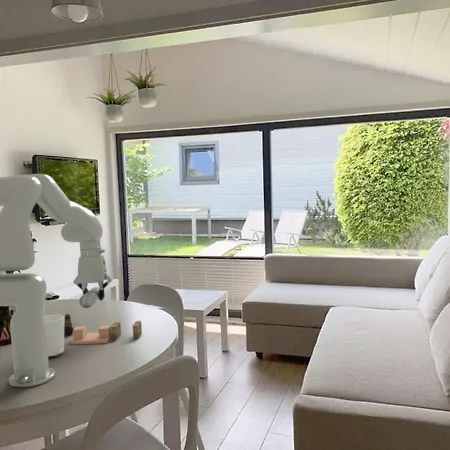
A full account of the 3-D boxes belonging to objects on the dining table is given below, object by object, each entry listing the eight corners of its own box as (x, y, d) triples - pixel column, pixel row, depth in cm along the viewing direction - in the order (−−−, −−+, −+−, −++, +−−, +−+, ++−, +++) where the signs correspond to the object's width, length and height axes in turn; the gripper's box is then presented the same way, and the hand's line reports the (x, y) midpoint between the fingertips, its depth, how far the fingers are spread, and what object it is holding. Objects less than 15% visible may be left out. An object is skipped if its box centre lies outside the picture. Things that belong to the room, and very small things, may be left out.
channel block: (138, 338, 169) (138, 325, 169) (111, 339, 169) (111, 326, 169) (141, 333, 175) (141, 320, 174) (116, 334, 175) (115, 321, 175)
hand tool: (73, 335, 177) (72, 324, 177) (62, 337, 176) (61, 325, 176) (74, 323, 195) (74, 312, 195) (64, 324, 194) (64, 313, 194)
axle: (93, 308, 165) (93, 294, 165) (79, 308, 165) (79, 294, 165) (102, 300, 177) (102, 287, 177) (89, 299, 177) (89, 287, 177)
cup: (37, 352, 159) (34, 316, 158) (66, 348, 162) (64, 312, 161) (36, 362, 150) (33, 324, 149) (67, 357, 153) (64, 320, 152)
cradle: (106, 343, 166) (105, 331, 165) (71, 344, 166) (70, 332, 165) (113, 334, 176) (112, 322, 175) (80, 335, 176) (79, 324, 175)
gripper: (115, 250, 176) (118, 296, 178) (71, 252, 177) (75, 298, 178) (110, 253, 169) (113, 301, 170) (64, 255, 169) (68, 303, 171)
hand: (94, 299), depth 174 cm, fingers closed on axle, 5 cm apart
